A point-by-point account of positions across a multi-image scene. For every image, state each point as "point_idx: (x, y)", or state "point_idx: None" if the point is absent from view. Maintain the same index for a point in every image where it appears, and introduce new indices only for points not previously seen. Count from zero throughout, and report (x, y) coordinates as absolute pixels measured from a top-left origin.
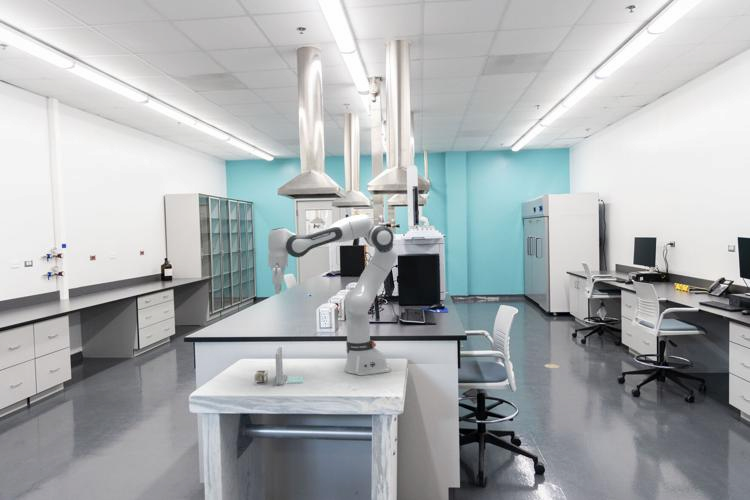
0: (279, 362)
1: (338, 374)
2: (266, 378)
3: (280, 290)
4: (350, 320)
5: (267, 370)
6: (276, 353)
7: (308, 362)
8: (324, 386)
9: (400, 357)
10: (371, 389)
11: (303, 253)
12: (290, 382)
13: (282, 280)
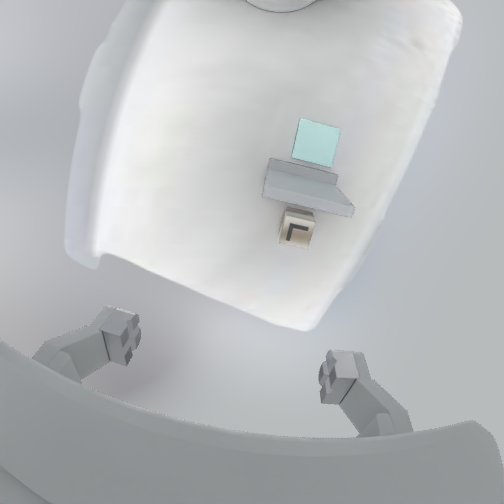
0: (341, 197)
1: (300, 31)
2: (309, 216)
3: (134, 318)
4: None
5: (288, 216)
6: (342, 213)
7: (158, 92)
8: (379, 88)
9: None
10: (425, 20)
11: None
12: (333, 158)
13: (127, 421)
